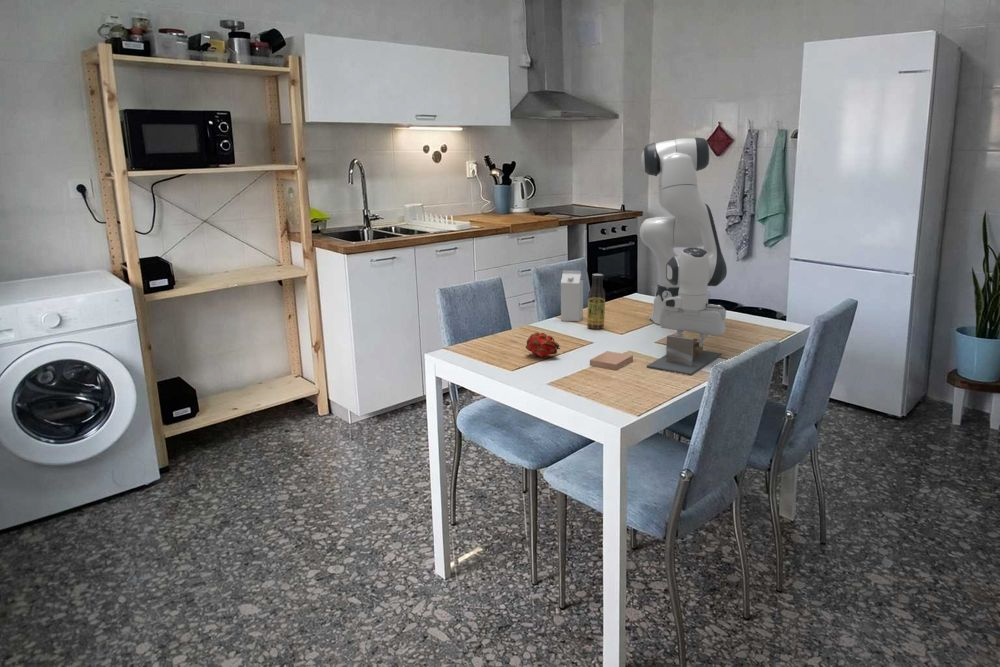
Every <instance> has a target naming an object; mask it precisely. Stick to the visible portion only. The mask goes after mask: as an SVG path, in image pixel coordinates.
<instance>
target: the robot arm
mask: <svg viewBox="0 0 1000 667" xmlns="http://www.w3.org/2000/svg"><path fill="white" fill-rule="evenodd" d="M711 157H712V152H711V146H710V145H709V141H708V140H706V139H705V138H703V137H695V138H687V137H686V138H674V139H672V140H664V141H660V142H657V143H656V142H652V143H648V144H646V145H645V146H644V147H643V151H642V153H641V158H640V160H641V167H642V168H643V170H644V172H645V173H646V174H647V175H649V176H654V177H657V176H658V179H657V181H658V186H657V187H658V202H659V204H660V206H661V207H662V209H664V210H665V211H667V212H668V214H670V215H671V216H654V217H650V218H646V219H644V220H643V222H642V224H641V225H640V228H639V237H640V240H641V241H642V243H643V244H644V245H645V246H646V247H648V248H649V249H650V251H652V253H653V255H654V256H655V258H656V261H657V266H658V267H657V268H658V284H657V286H656V294H657V296H655V297H654V299H653V305H652V315H650V316H649V317H648V319H649V320H650V319H651V321H652V322H653V323H654V324H656V325H659V326H660V328H661V329H666V330H674V331H676V335H677V337H683V338H685V336H684V334H683V333H684V332H687V333H694V334H695V333H696V334H699V337H700V340H698V341H696V347H702V346H703V347H704V340H705V339H706V338H707V336H709V335H710V336H715V337H716V336H717V337H719V336H722V335H724V334H725V333H726V317H727V310H726V308H725V307H724V306H722V305H721V304H713V303H709V290H708V287H717V286H719V285H720V284H721V283H722V282H723V281H724V280H725V279H726V277H727V273H728V272H727V271H728V270H727V269H728V267H727V263H726V261H725V258H724V255H723V252H722V250H721V245H720V241H719V237H718V234H717V233H718V231H717V227H716V224H715V220H714V217H713V216H714V215H713V214H712V210H711V208H710V206H709V204H707V203H705V202H704V201H703V199H702V198H701V196H700V193H699V189H698V180H697V173H696V172H698V171H701V170H704V169H706V168H707V167H708V166H709V163H710V161H711ZM701 247H703V248H701ZM674 248H682V251H681V253H680V254H679V255H677V253H676V252H675V250H674ZM684 248H685V249H684Z"/></svg>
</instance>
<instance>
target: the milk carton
mask: <svg viewBox="0 0 1000 667" xmlns="http://www.w3.org/2000/svg"><path fill="white" fill-rule="evenodd" d="M583 316H584V279H583V276H582V270H562V275H561V280H560V321H562V322H563V321H564V322H580V321H581V320H582V319H583Z"/></svg>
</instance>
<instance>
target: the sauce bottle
mask: <svg viewBox="0 0 1000 667" xmlns="http://www.w3.org/2000/svg"><path fill="white" fill-rule="evenodd" d="M591 279H592V282H591V283H592V284H591V287H590V289H589V291H588V298H587V316H586V317H587V319H586V323H587V325H586V326H587V329H593V330H597V329H598V330H601V329H603V328H604V325H605V314H606V291H605V289H604V287H603V283H604V281H603V280H604V274H602V273H592V275H591Z"/></svg>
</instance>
